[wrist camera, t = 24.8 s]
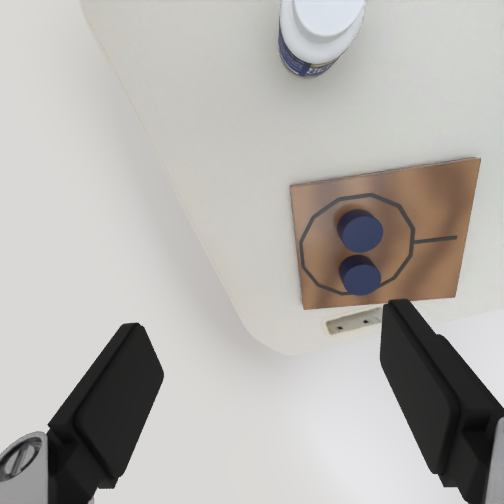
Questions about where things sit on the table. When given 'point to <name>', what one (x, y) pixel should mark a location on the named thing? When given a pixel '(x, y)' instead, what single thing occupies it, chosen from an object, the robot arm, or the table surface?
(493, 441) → the robot arm
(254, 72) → the table surface
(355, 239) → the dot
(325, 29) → the pill bottle
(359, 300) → the face mat
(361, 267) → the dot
